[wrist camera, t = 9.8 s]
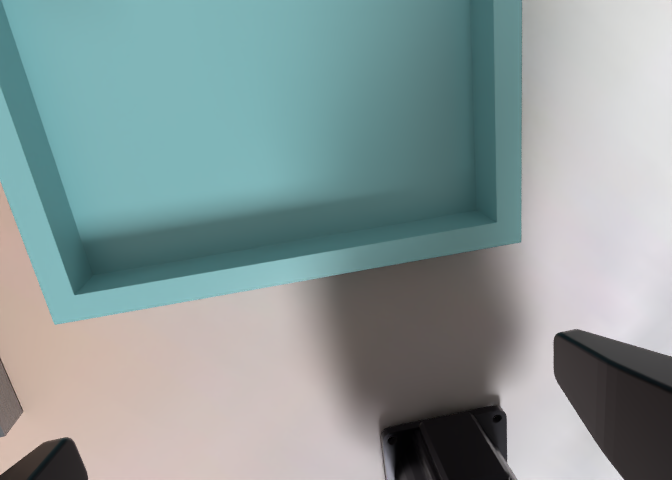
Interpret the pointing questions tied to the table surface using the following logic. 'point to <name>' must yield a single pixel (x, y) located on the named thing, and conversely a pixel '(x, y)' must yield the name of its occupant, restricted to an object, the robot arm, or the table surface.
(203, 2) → the teal tray
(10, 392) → the dark grey tray
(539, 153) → the table surface
